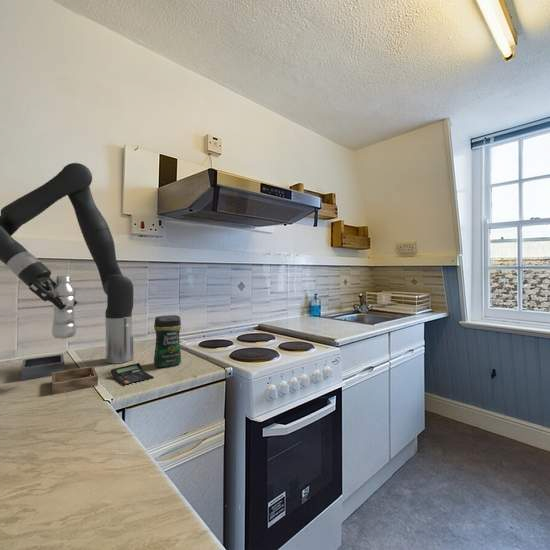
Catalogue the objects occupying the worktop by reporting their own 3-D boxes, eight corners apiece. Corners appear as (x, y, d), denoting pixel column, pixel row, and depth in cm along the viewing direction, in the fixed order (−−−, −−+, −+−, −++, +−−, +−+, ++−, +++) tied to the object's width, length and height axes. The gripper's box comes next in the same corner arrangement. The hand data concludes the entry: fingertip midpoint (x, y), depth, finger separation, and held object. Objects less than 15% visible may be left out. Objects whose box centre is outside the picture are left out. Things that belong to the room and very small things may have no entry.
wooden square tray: (93, 374, 108) (93, 366, 108) (97, 385, 99) (97, 376, 98) (52, 382, 101) (51, 372, 101) (52, 394, 92) (52, 384, 92)
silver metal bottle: (64, 341, 98) (64, 276, 97) (46, 339, 99) (45, 276, 99) (81, 336, 104) (80, 276, 104) (63, 335, 106) (63, 275, 105)
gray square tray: (63, 364, 118) (62, 354, 118) (64, 373, 109) (64, 362, 109) (23, 370, 111) (23, 359, 111) (21, 380, 102) (21, 368, 102)
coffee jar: (156, 369, 113) (156, 318, 113) (152, 363, 120) (151, 315, 119) (183, 365, 119) (183, 316, 118) (178, 359, 125) (177, 313, 125)
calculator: (124, 387, 98) (124, 377, 98) (110, 377, 106) (110, 369, 106) (153, 379, 105) (153, 370, 105) (138, 370, 113) (138, 362, 113)
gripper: (23, 260, 93) (66, 300, 95) (51, 261, 107) (88, 296, 109) (3, 278, 93) (47, 318, 94) (34, 276, 107) (72, 311, 109)
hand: (69, 306), depth 102 cm, fingers closed on silver metal bottle, 6 cm apart
